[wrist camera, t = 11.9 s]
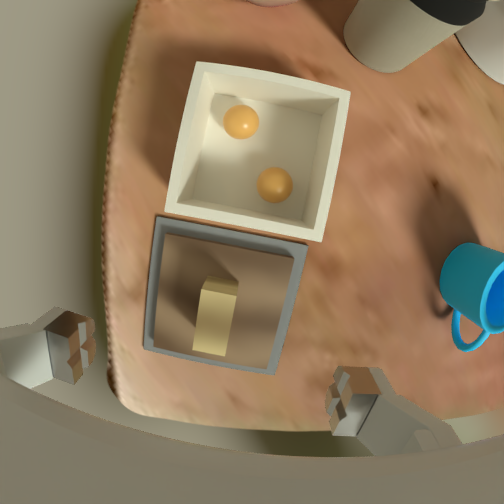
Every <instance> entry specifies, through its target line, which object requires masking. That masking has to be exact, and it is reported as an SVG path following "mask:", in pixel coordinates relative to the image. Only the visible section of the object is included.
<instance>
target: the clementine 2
mask: <svg viewBox="0 0 504 504" xmlns="http://www.w3.org/2000/svg"><path fill="white" fill-rule="evenodd" d="M256 186H257V191H258V193H259V195H260V196H261V197H262V198H263V199H264V200H265V201H267V202H270V203H280V202H283V201H284V200H286V199H287V198H288V197H289V196H290V194H291V192H292V189H293V181H292V178H291V176H290V175H289V173H288V172H287V171H285V170H284V169H282V168H279V167H271V168H267V169H265V170H264V171H263V172H262V173H261V174H260V175H259V177H258V179H257V184H256Z"/></svg>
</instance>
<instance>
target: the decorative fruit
mask: <svg viewBox="0 0 504 504" xmlns="http://www.w3.org/2000/svg"><path fill="white" fill-rule="evenodd" d="M246 1H248V2H250V3H252V4H255V5H258V6H262V7H278V6H284V5H288V4H291V3H294V2H296V1H298V0H246Z"/></svg>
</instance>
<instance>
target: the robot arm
mask: <svg viewBox="0 0 504 504" xmlns="http://www.w3.org/2000/svg"><path fill="white" fill-rule="evenodd" d="M455 33H456V35H457V37H458V39H459V41H460V42H461V44H462V46H463V47H464V49H465V50H466V52H467V53H468V55H469V56H470V57H471V58H472V60H473V61H474V62H475V63H476V64H477V65H478V67H479V68H480V69H481V70H482V71H483V72H485V73H486V74H487V75H488V76H489V77H491V78H492V79H494V80H495V81H497V82H499V83H501V84H504V0H498V1H490V0H489V1H486V6H485V10H484V13H483V14H482V15H481V16H480V17H479V18H477V19H475V20H474V21H472V22H471V23H469V24H468V25H466V26H464V27H463V28H461V29H460V30H458V31H457V32H455ZM94 331H95V325H94V321H93V319H92V318H90V317H86V316H83V315H80V314H77V313H74V312H71V311H68V310H66V309H62V308H59V307H53V308H52V309H51V310H50V311H48V312H47V313H46V314H44V315H43V316H41V317H40V318H39V319H38V320H36V321H35V322H33V323H32V324H31V325H30V324H21V325H16V326H10V327H5V328H0V504H504V434H503V435H499V436H495V437H492V438H488V439H484V440H480V441H476V442H471V443H467V444H462V442H461V441H460V439H459V438H458V436H457V435H456V433H455V432H454V430H453V428H452V427H451V425H448V424H447V423H445V422H444V421H442V420H440V419H439V418H437V417H435V416H434V415H432V414H430V413H429V412H427V411H426V410H424V409H422V408H421V407H419V406H417V405H416V404H414V403H412V402H411V401H409V400H408V399H406V398H404V397H403V396H401V395H396V393H395V391H394V390H393V388H392V386H391V385H390V383H389V381H388V379H387V378H386V376H385V374H384V373H383V371H382V369H380V368H373V367H349V366H338V367H337V369H336V370H335V373H334V375H333V377H334V380H335V382H334V383H333V384H332V385H330V386H329V388H328V391H327V393H326V399H325V408H326V412H327V413H328V414H329V415H330V416H331V418H330V420H329V424H330V427H331V431H332V435H336V436H357V438H358V439H359V440H360V441H361V442H362V443H363V444H364V445H365V446H366V447H367V448H368V449H369V450H370V451H371V452H372V453H373V454H374V455H375V456H369V457H338V458H337V457H336V458H335V457H334V458H333V457H297V456H282V455H281V456H280V455H269V454H259V453H250V452H242V451H235V450H228V449H222V448H215V447H209V446H204V445H198V444H194V443H188V442H184V441H179V440H175V439H171V438H166V437H162V436H158V435H154V434H151V433H146V432H143V431H139V430H136V429H133V428H129V427H126V426H123V425H120V424H117V423H113V422H110V421H107V420H105V419H101V418H98V417H96V416H93V415H90V414H88V413H85V412H82V411H80V410H77V409H75V408H72V407H70V406H67V405H65V404H62V403H60V402H58V401H55V400H53V399H51V398H49V397H46V396H44V395H42V394H40V393H37V392H35V391H33V390H31V388H33V387H35V386H38V385H40V384H42V383H44V382H47V381H49V380H51V379H53V377H54V378H56V379H59V380H62V381H65V382H67V383H70V384H73V385H75V384H76V382H77V381H78V380H79V379H80V377H81V376H82V375H83V368H86V367H89V366H90V364H91V363H92V362H93V359H94V356H95V350H96V342H95V340H94V338H93V337H92V333H93V332H94Z"/></svg>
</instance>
